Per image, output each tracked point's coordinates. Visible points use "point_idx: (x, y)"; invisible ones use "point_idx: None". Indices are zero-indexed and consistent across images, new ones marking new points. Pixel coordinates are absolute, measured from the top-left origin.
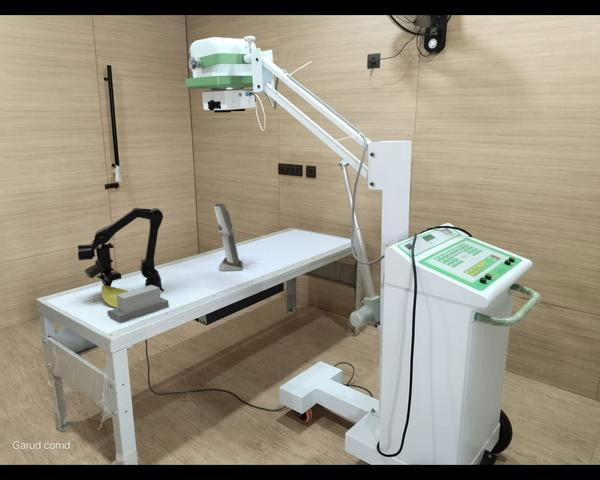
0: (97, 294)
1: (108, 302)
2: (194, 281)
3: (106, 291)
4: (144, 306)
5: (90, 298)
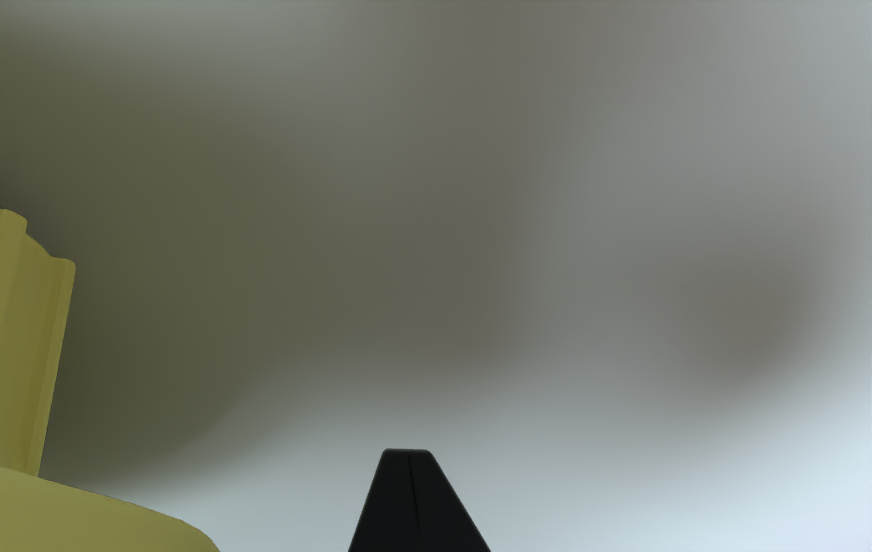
0: (825, 282)
1: None
2: None
3: None
4: None
5: (818, 17)
